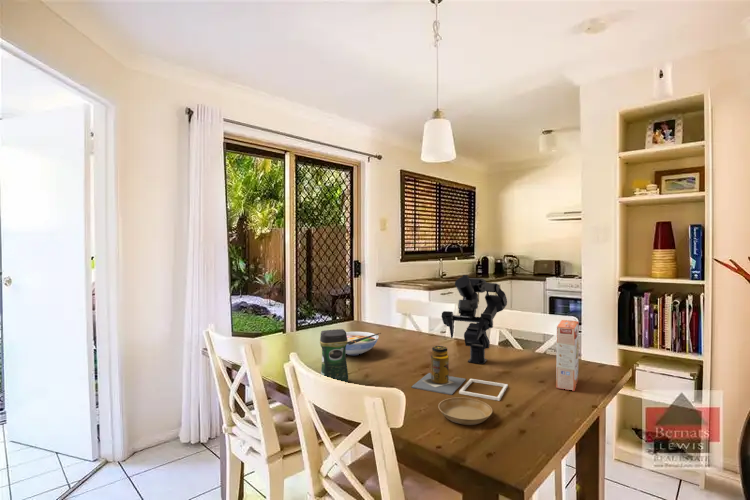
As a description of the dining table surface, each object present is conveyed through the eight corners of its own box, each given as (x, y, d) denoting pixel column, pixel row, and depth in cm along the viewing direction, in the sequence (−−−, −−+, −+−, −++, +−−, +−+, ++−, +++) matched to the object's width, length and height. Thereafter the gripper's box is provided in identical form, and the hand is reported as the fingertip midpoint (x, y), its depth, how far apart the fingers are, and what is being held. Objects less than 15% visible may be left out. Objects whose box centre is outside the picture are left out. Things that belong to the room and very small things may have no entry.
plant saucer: (503, 425, 103) (503, 415, 103) (451, 431, 100) (451, 421, 100) (476, 403, 117) (476, 395, 117) (430, 408, 114) (430, 399, 114)
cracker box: (576, 392, 125) (575, 327, 125) (555, 388, 128) (555, 325, 128) (579, 379, 137) (579, 320, 137) (560, 376, 140) (560, 319, 140)
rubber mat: (428, 373, 145) (428, 372, 145) (465, 379, 138) (465, 378, 138) (411, 387, 131) (411, 386, 131) (451, 395, 124) (451, 393, 124)
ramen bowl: (351, 344, 190) (351, 327, 190) (390, 351, 177) (390, 333, 177) (315, 355, 170) (315, 337, 170) (356, 364, 157) (356, 344, 157)
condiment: (454, 382, 134) (453, 348, 134) (435, 387, 129) (435, 351, 129) (439, 377, 140) (439, 343, 140) (421, 381, 135) (421, 347, 135)
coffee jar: (345, 377, 142) (344, 326, 141) (350, 384, 134) (349, 331, 134) (318, 380, 139) (318, 328, 138) (322, 388, 131) (321, 333, 131)
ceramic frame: (470, 380, 137) (470, 378, 137) (507, 386, 131) (507, 384, 131) (459, 393, 125) (459, 391, 125) (499, 400, 119) (499, 398, 119)
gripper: (442, 290, 151) (435, 323, 141) (492, 292, 144) (487, 327, 134) (447, 307, 158) (440, 340, 148) (494, 310, 151) (491, 345, 141)
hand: (464, 338), depth 143 cm, fingers open, 9 cm apart
